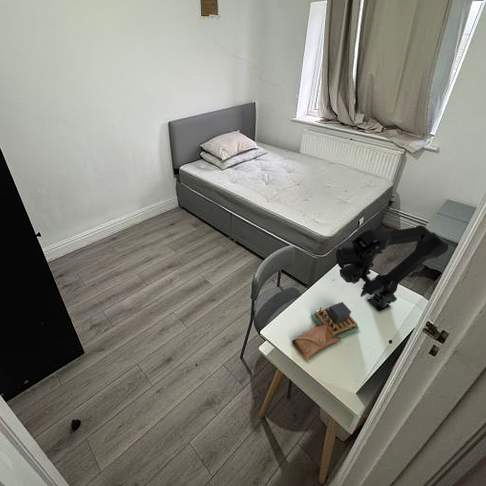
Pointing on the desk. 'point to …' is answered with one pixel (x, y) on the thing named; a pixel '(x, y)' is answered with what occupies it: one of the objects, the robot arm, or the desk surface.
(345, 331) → the wooden peg rack
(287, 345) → the desk surface
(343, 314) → the black box
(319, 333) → the sunglasses case
